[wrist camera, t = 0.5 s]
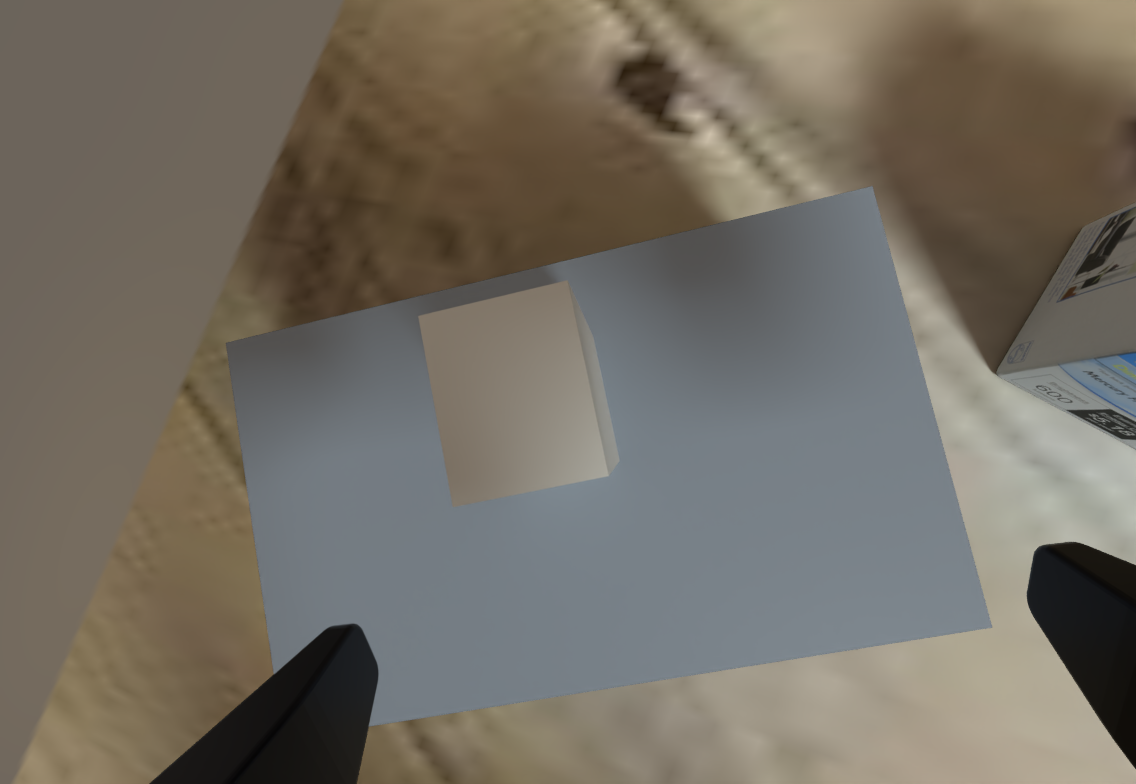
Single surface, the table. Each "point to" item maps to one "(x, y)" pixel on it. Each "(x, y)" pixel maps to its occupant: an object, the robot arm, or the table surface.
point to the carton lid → (609, 468)
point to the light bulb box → (1086, 331)
